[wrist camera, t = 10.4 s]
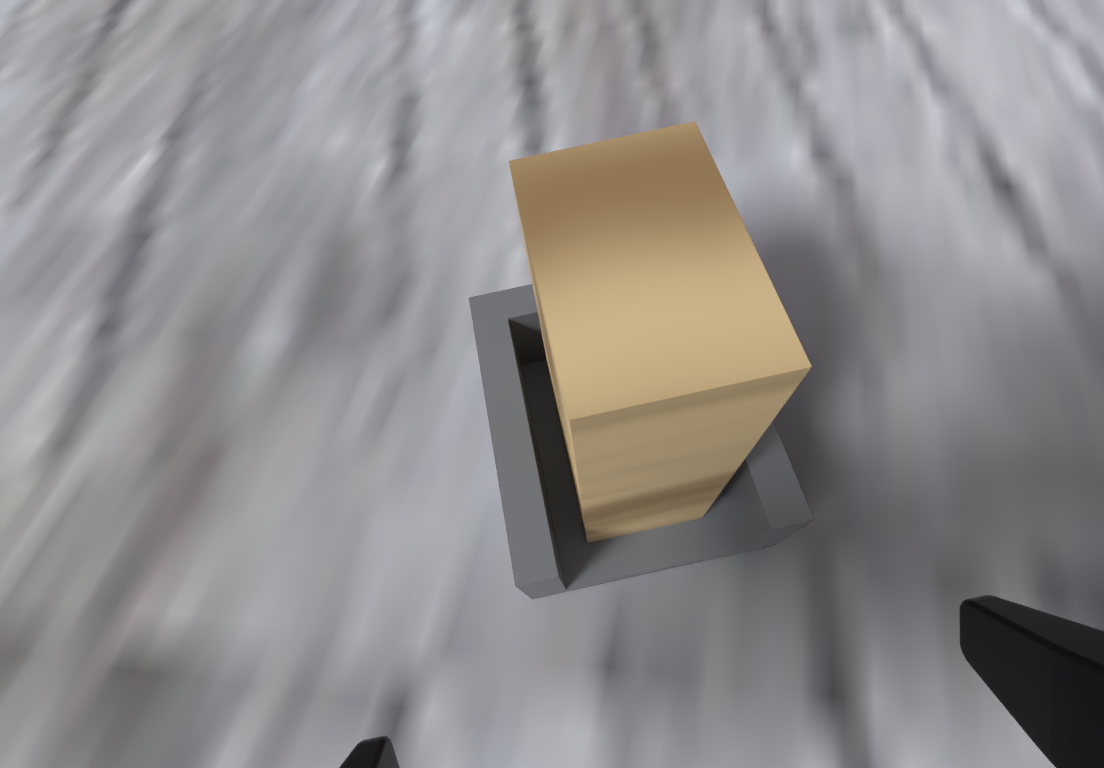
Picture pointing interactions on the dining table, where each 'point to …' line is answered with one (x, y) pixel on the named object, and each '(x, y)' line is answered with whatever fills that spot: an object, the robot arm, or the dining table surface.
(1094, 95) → the dining table surface
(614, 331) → the block
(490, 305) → the end cap
